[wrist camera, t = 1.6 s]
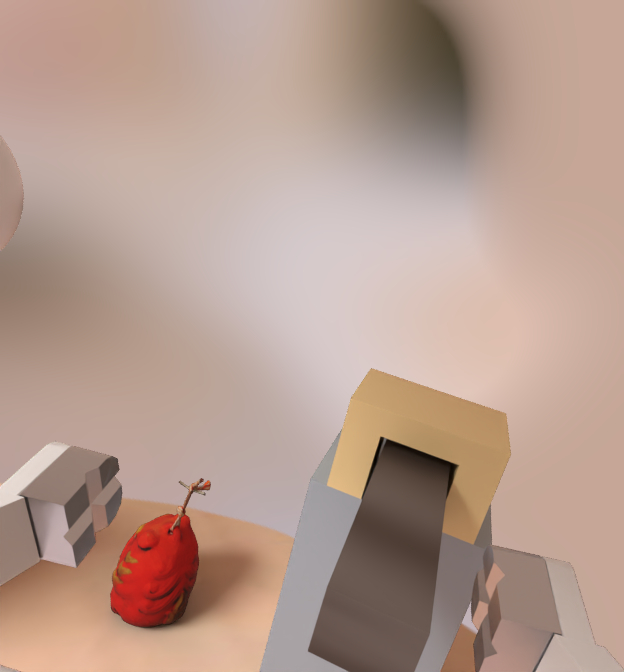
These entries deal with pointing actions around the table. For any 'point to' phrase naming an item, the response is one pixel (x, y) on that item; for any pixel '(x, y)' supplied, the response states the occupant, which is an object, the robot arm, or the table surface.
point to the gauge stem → (387, 568)
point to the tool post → (348, 491)
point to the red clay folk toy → (157, 569)
